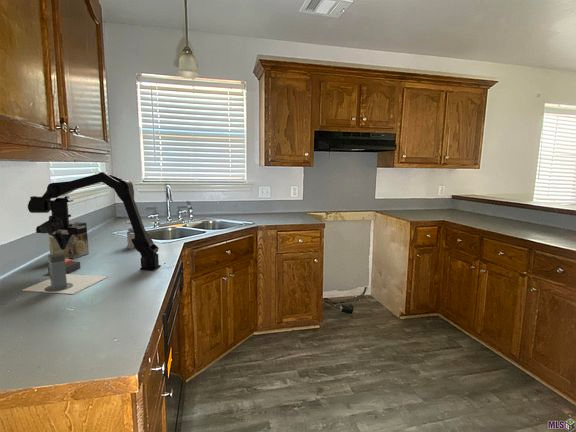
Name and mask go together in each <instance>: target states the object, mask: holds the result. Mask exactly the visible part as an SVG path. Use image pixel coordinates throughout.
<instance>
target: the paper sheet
mask: <svg viewBox="0 0 576 432" xmlns="http://www.w3.org/2000/svg"><path fill="white" fill-rule="evenodd" d="M106 279H108V276H101V275H100V276H99V275H89V274H88V275H86V274H85V275H84V274H72V273H71V274H70V273H68V274H66V280H67V287H65V288H61V289H56V290H54V289H53V288H52V287H51V280H50V278H49V279H46V280H43V281H41V282H39V283H35V284H33V285H31V286H28V287H26V288H24V289H22V290H21V291H22V292H33V293H35V292H36V293H46V294H47V293H48V294H49V293H50V294H62V295H75V294H77V293H79V292H81V291H83V290H85V289H88V288H89V287H92V286H93V284H94V285H96V284H98V283H99V281H100V282H102V281H103V280H106ZM101 280H102V281H101ZM97 282H98V283H97ZM95 283H96V284H95ZM91 285H92V286H91Z"/></svg>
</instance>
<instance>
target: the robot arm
mask: <svg viewBox="0 0 576 432" xmlns="http://www.w3.org/2000/svg"><path fill="white" fill-rule="evenodd" d="M99 183H104V185H106V186H108V187H110V188H111V189H113V190H114V192H115V193H116V195H117V197H118V198H119V199H120V201H121V202H122V203H123V205H124V207H125V208H124V209H125V212H126V214H127V216H128V219H129V220H130V222H131V224H130V226H131V228H133V231H134V234H135V237H134V238H133V239H131V240H132V242H133V244H134V248H133V249H136V251H137V252H138V253H139V254H140V256H141V257H140V268H139V270H143V271H155V270H156V269H159V268H160V267H161V264H160V262H159V253H158V251H159V249H160V248H159V246H157V245H156V244H155V243H154V241H153V239H152V237H151V236H150V234H149V233H148V232H147V231H146V229H145V226H143V225H144V224H143V220H142V218H141V215H140V212H139V209H138V206H137V204H136V201H135V189H134V185H133V182H132V181H130V180H128V179H122V178H120V177H117V176H115V175H113V174H110V173H109V172H106V171H102V172H100V171H99V172H98V173H95V174H91V175H88V176H85V177H81V178H77V179H74V180H69V181H57V182H50V183H49V184H48V185H47V187H46V190H45V192H44V194H43V195H42V196H37V195H33V196H30V199H29V201H28V204H27V210H28V212H29V213H30V214H31V213H32V214H48V213H50V211H51V215H49V216H48V220H47V221H45V222H43V223H41V224H40V225H37V226H36V228H35V232H36V234H43V235H44V234H48V236H53V237H54V238H55V239H56V241H57V242H58V244H59V246H60V248H61V250H64V249H65V248H66V246H67V244H68V241H69V239H70V238H71V236H72V235H78V234H82V233H85V232H87V233H88V230H87V231H86V227H85V226H73V227H71V226H72V224H69V223H70V219H69V218H71V217H72V214H70V213H69V204H68V203H72V202H74V199H72V198H71V197H70V196H69V195H68V194H71V193H72V192H74V191H76V190H78V189H83V188H86V187H90V186H92V185H96V184H99ZM63 196H64V197H63ZM53 199H54V200H53ZM129 220H128V221H129ZM63 229H65V230H63Z"/></svg>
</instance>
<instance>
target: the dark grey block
mask: <svg viewBox="0 0 576 432" xmlns="http://www.w3.org/2000/svg"><path fill="white" fill-rule="evenodd" d="M47 257H48V266H49V269H50V273H49V279H50V280H51V287H52V288H53V289H54V290H56V289H61V288H65V287H67V280H66V268H65V256H64V255H63V254H62V253H59V254H53V255H50V254H48V255H47Z"/></svg>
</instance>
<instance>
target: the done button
mask: <svg viewBox="0 0 576 432" xmlns="http://www.w3.org/2000/svg"><path fill="white" fill-rule="evenodd" d="M73 261H74V260H73V258H69V259H65V266H66V265H69V264H72V263H73Z"/></svg>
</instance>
